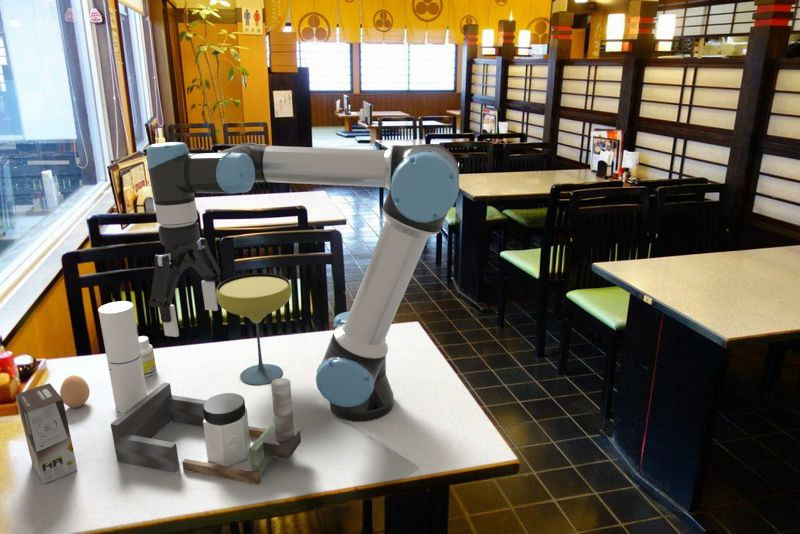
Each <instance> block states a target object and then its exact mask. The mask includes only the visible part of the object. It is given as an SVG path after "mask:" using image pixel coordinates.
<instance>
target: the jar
mask: <svg viewBox="0 0 800 534" xmlns="http://www.w3.org/2000/svg"><path fill="white" fill-rule="evenodd" d="M206 400H207V401H206V402H205V403H204V405H203V411H204V420H203V426H204V427H203V432H204V440H205V441H204V442H205V450H206V457H207V461H209V462H211V463H212V464H216V465H221V466H227V467H229V466H230V465H234V464H236V463H239V462H242V461H246V460H247V458H248V455H249V453H250V448H251V437H250V436H249V418H248V408H247V407H246V400H245V398H244V397H243V396H242V395H240V394H238V393H235V392H233V393H232V392H225V393H224V392H223V393H219V394H216V395H214V396H211V397H209V398H208V399H206Z"/></svg>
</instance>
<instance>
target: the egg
mask: <svg viewBox="0 0 800 534" xmlns="http://www.w3.org/2000/svg"><path fill="white" fill-rule="evenodd" d="M59 391H60V392H59V395H60V396H61V398H62V399H63V402H64V405H65V406H67V407H69V408H73V409H74V408H79V407H80V408H81V407H82V406H83V405H85V403H86V402H87V401H88V399H89V396H90V387H89V385H88V383H87V381H86V380H85V379H84V378H82V376H80V375H75V374H74V375H70V376H68V377H66V378H65V379H63V382H62V384H61V386H60V389H59Z"/></svg>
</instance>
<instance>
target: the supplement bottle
mask: <svg viewBox="0 0 800 534" xmlns="http://www.w3.org/2000/svg"><path fill="white" fill-rule="evenodd" d="M138 339H139V345H140V351H141V358H142V364H143V371H144V377H145V378H147V377H151V376H153V375H154V374H155V373H156V372H157V366H156V358H155V352H154V347H153V345H152V344H150V340H149V337H148V336H146V335H141V336H140V335H138Z"/></svg>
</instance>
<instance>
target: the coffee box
mask: <svg viewBox="0 0 800 534" xmlns="http://www.w3.org/2000/svg"><path fill="white" fill-rule="evenodd" d="M15 399H16V403H17V406H18V407H17V408H18V411H19V414H20V419H21V420H20V421H21V422H22V427H23V432H24V436H25V439H26V440H25V441H26V443H27V448H28V453H29V456H30V460H31V464H32V466H33V468H34V470H35V472H36V473H37V475H38V476H39V478H40V480H41V482H42V483H43V484H47V483H50V482H52V481H54V480H57V479H59V478H62V477H64V476H66V475H69V474H71V473H74V472H76V471H77V470H78V465H77V460H76V456H75V451H74V447H73V441H72V436H71V431H70V427H69V423H68V418H67V413H66V408H65V403H64V402H63V399H62V398H61V396H60V393H58V391H57V390H56V389H55V388H54V386H52V384H51V383H50V382H49V383H46V384H42V385H39V386H36V387H32V388H29V389H27V390H26V391H23V392H19V393H16V394H15Z"/></svg>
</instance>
